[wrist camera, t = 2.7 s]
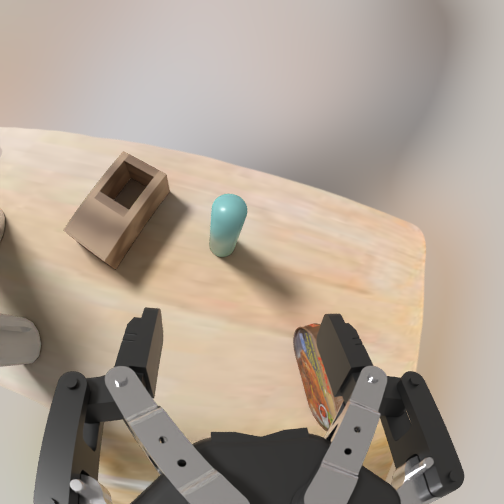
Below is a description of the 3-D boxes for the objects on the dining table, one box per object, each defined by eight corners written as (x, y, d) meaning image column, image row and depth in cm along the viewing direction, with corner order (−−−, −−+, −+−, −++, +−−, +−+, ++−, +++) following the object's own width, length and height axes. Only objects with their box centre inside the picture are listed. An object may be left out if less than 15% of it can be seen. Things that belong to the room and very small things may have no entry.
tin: (287, 328, 39) (309, 327, 31) (308, 322, 39) (333, 318, 31) (313, 423, 35) (337, 442, 27) (332, 416, 36) (360, 431, 28)
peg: (226, 261, 40) (236, 232, 28) (204, 248, 40) (204, 215, 28) (239, 240, 41) (253, 204, 29) (217, 227, 41) (223, 188, 29)
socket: (115, 269, 37) (104, 261, 32) (77, 241, 37) (63, 230, 32) (169, 191, 41) (166, 174, 36) (130, 168, 41) (123, 151, 36)
